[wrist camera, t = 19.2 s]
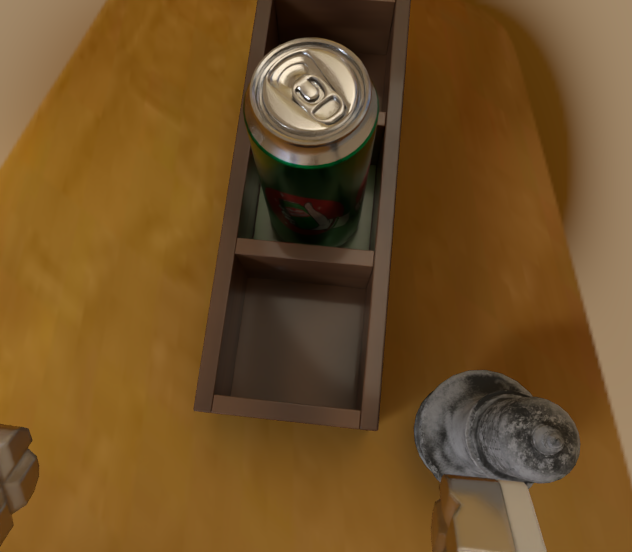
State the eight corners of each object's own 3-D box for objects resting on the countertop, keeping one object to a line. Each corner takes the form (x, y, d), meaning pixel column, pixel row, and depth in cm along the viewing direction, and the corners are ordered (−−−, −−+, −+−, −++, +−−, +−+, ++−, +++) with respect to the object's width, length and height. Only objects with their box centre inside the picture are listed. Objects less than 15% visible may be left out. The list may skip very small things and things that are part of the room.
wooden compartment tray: (215, 412, 29) (192, 410, 25) (269, 41, 35) (260, -22, 30) (368, 429, 29) (378, 431, 24) (399, 51, 35) (411, -10, 30)
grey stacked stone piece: (441, 514, 28) (524, 580, 16) (388, 404, 29) (430, 394, 18) (543, 462, 29) (694, 490, 17) (487, 357, 30) (589, 316, 18)
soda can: (319, 154, 32) (317, 3, 21) (379, 216, 31) (412, 94, 20) (251, 208, 31) (209, 83, 20) (310, 274, 30) (302, 183, 19)
